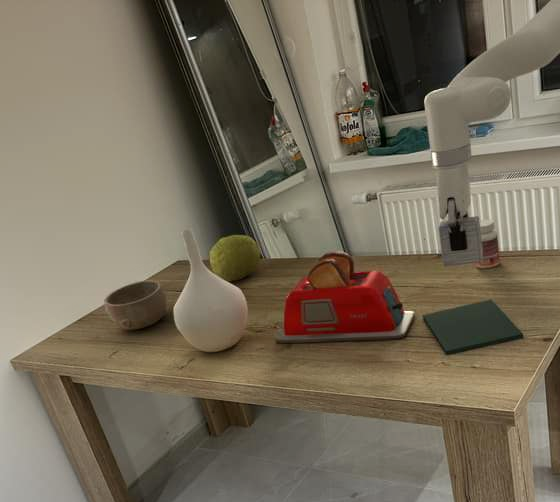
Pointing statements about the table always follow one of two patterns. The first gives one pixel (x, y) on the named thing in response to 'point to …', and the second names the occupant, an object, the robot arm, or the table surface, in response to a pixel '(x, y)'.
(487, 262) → the pill bottle
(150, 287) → the bowl
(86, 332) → the table surface
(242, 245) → the fruit
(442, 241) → the medicine box
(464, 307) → the mat
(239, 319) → the vase
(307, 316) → the toaster
